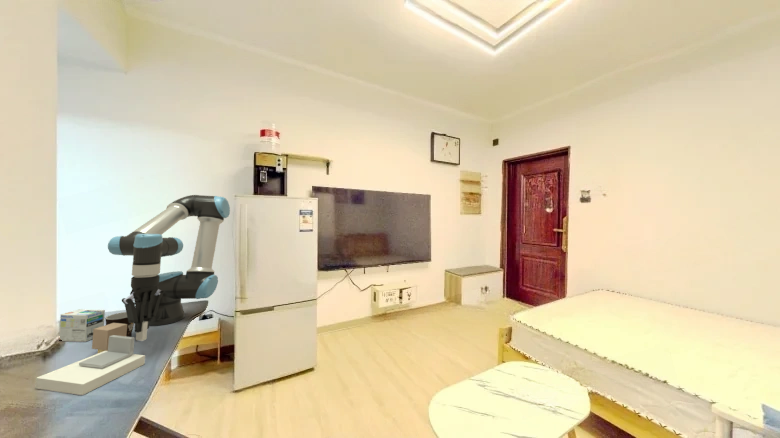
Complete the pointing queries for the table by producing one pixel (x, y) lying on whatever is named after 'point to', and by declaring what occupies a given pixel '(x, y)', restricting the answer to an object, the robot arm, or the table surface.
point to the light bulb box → (80, 324)
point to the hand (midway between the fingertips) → (141, 339)
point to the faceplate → (86, 375)
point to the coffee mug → (120, 321)
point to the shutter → (112, 352)
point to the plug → (107, 335)
